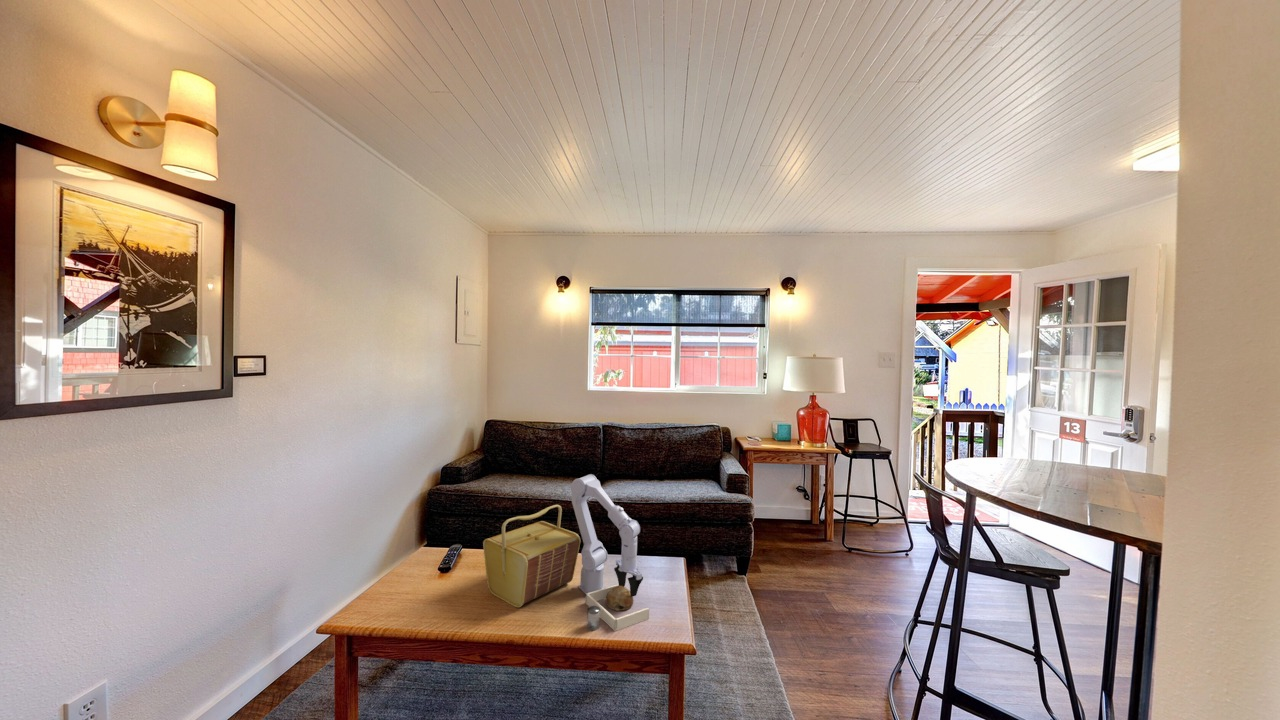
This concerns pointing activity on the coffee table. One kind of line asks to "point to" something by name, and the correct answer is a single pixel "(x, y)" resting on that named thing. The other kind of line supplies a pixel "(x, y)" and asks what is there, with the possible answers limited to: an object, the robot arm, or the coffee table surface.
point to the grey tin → (593, 618)
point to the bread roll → (619, 598)
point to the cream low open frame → (607, 617)
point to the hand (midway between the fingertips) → (627, 591)
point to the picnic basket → (530, 559)
